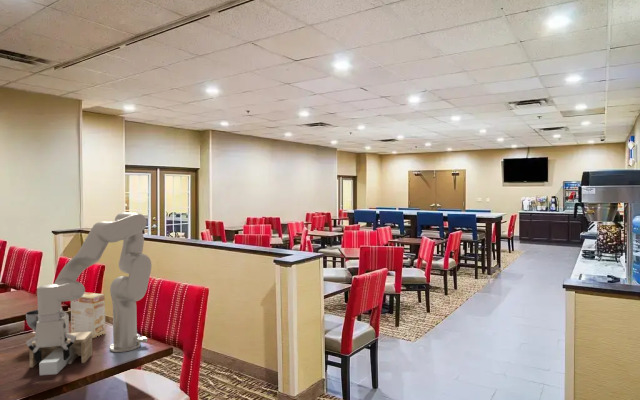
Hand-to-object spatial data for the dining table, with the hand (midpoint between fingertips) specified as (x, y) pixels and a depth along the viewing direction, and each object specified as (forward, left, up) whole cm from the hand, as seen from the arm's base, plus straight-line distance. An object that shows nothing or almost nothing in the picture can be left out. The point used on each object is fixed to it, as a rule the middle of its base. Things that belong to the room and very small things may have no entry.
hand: (52, 360), depth 161 cm
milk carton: (+7, -23, -5) cm, 24 cm away
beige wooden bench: (0, -10, -4) cm, 11 cm away
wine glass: (+18, -32, -5) cm, 37 cm away
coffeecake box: (0, -41, -5) cm, 42 cm away
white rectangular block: (0, -5, -5) cm, 7 cm away
